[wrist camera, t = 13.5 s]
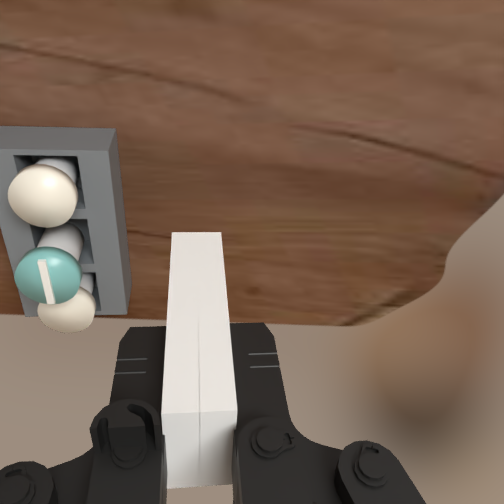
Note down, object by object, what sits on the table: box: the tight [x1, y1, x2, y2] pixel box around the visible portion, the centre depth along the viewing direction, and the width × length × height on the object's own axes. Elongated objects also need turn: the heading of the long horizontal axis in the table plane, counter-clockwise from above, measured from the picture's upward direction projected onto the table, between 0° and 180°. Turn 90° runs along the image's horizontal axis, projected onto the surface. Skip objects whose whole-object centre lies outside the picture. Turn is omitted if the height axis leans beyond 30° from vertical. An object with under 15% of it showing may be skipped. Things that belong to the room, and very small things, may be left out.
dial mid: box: [14, 222, 84, 304], centre depth 42 cm, size 5×5×7 cm
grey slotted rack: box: [0, 126, 132, 317], centre depth 46 cm, size 10×18×5 cm, turn 176°
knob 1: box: [8, 155, 80, 228], centre depth 40 cm, size 5×5×6 cm
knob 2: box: [37, 272, 96, 333], centre depth 47 cm, size 5×5×6 cm
